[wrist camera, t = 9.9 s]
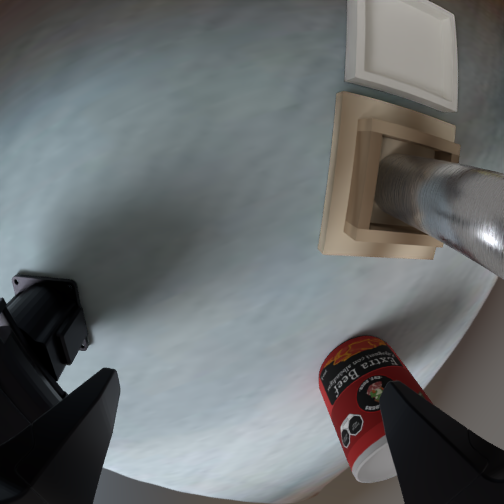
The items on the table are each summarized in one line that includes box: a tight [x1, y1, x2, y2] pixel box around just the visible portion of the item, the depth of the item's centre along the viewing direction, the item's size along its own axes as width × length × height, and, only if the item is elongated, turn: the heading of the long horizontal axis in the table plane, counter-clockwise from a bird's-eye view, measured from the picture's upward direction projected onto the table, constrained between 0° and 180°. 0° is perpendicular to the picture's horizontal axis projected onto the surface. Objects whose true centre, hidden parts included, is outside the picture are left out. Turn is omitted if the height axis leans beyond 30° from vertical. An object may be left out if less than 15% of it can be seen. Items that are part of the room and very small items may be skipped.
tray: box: [344, 0, 458, 112], centre depth 16 cm, size 9×9×2 cm
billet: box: [374, 153, 504, 279], centre depth 14 cm, size 4×4×12 cm
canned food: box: [319, 336, 433, 483], centre depth 21 cm, size 8×8×11 cm
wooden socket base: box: [318, 91, 460, 260], centre depth 19 cm, size 10×11×3 cm
